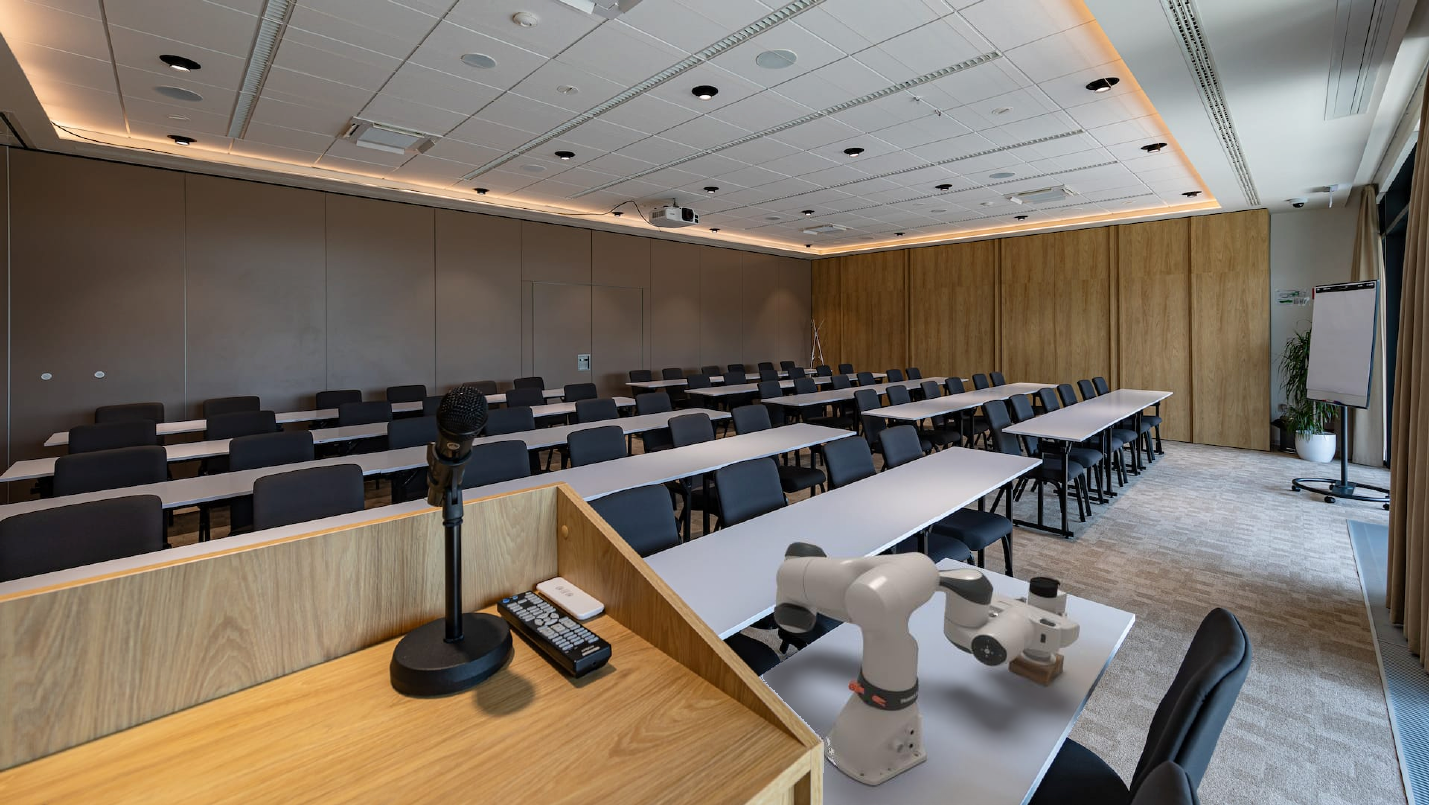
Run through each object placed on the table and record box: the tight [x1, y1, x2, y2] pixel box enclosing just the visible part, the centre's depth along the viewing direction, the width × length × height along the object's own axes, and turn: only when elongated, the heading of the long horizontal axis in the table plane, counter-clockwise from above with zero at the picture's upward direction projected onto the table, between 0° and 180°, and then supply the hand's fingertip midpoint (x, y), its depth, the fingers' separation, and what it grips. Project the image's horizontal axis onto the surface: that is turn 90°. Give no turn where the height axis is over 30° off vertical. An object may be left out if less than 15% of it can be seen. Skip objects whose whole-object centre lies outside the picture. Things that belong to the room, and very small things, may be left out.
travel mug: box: [1023, 576, 1061, 661], centre depth 151 cm, size 6×7×20 cm
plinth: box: [1008, 652, 1065, 687], centre depth 153 cm, size 10×9×4 cm
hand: (1043, 607), depth 151 cm, fingers open, 8 cm apart
